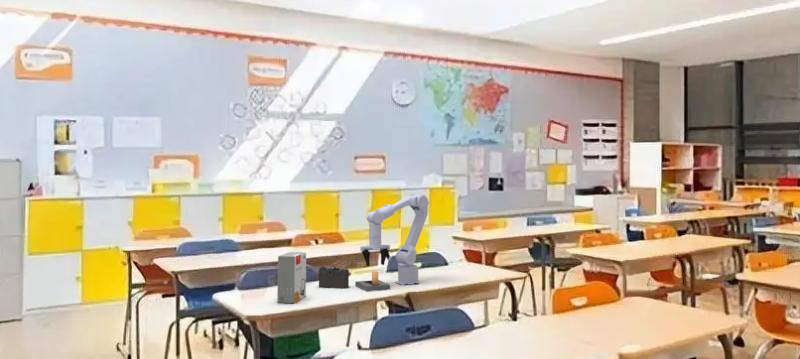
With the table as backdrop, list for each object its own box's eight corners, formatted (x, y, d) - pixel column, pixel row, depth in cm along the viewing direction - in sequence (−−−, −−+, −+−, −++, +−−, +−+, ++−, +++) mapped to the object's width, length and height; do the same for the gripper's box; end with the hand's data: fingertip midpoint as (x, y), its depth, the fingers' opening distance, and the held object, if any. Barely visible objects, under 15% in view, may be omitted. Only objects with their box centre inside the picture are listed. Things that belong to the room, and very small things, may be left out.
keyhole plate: (378, 284, 333) (378, 279, 333) (390, 289, 320) (390, 284, 320) (355, 286, 328) (355, 281, 328) (366, 291, 315) (366, 286, 315)
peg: (377, 288, 323) (377, 271, 323) (379, 289, 320) (379, 272, 320) (371, 288, 322) (371, 271, 322) (373, 289, 319) (373, 272, 319)
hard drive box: (294, 304, 288) (294, 256, 288) (277, 303, 290) (276, 256, 289) (306, 296, 304) (306, 251, 303) (290, 295, 305) (290, 251, 304)
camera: (352, 284, 332) (352, 264, 332) (347, 289, 321) (347, 268, 321) (323, 283, 334) (323, 263, 334) (317, 288, 323) (317, 267, 323)
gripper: (385, 235, 332) (385, 262, 333) (357, 236, 326) (357, 265, 327) (391, 236, 326) (391, 265, 327) (363, 238, 320) (363, 267, 320)
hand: (375, 265), depth 326 cm, fingers open, 7 cm apart
